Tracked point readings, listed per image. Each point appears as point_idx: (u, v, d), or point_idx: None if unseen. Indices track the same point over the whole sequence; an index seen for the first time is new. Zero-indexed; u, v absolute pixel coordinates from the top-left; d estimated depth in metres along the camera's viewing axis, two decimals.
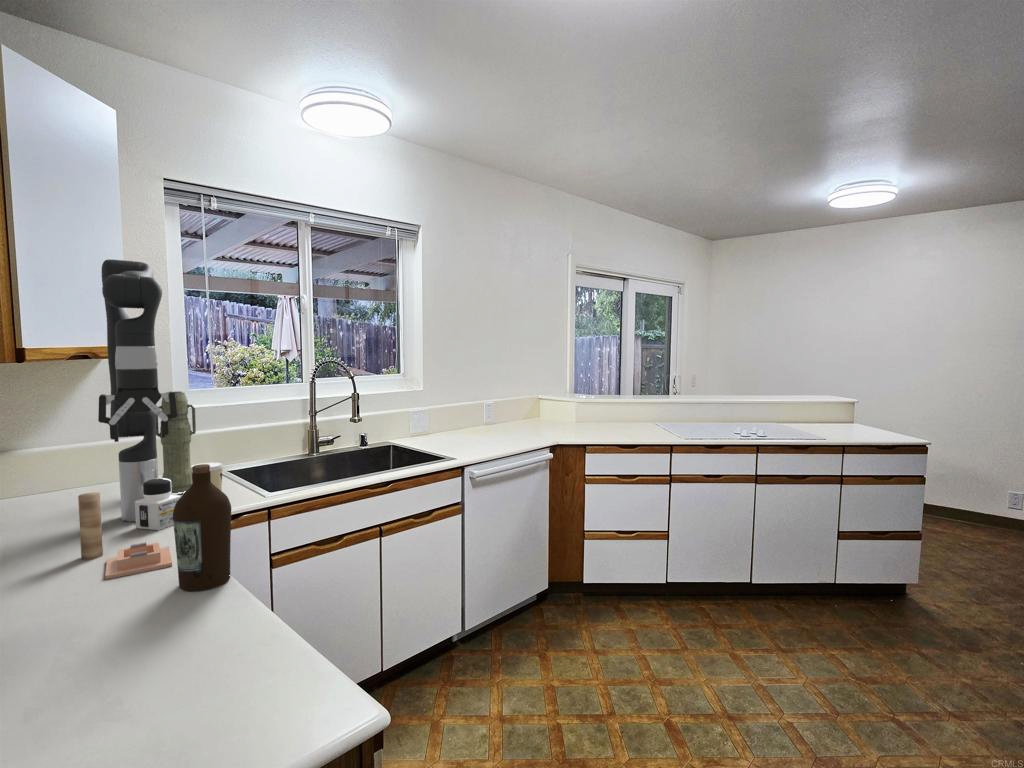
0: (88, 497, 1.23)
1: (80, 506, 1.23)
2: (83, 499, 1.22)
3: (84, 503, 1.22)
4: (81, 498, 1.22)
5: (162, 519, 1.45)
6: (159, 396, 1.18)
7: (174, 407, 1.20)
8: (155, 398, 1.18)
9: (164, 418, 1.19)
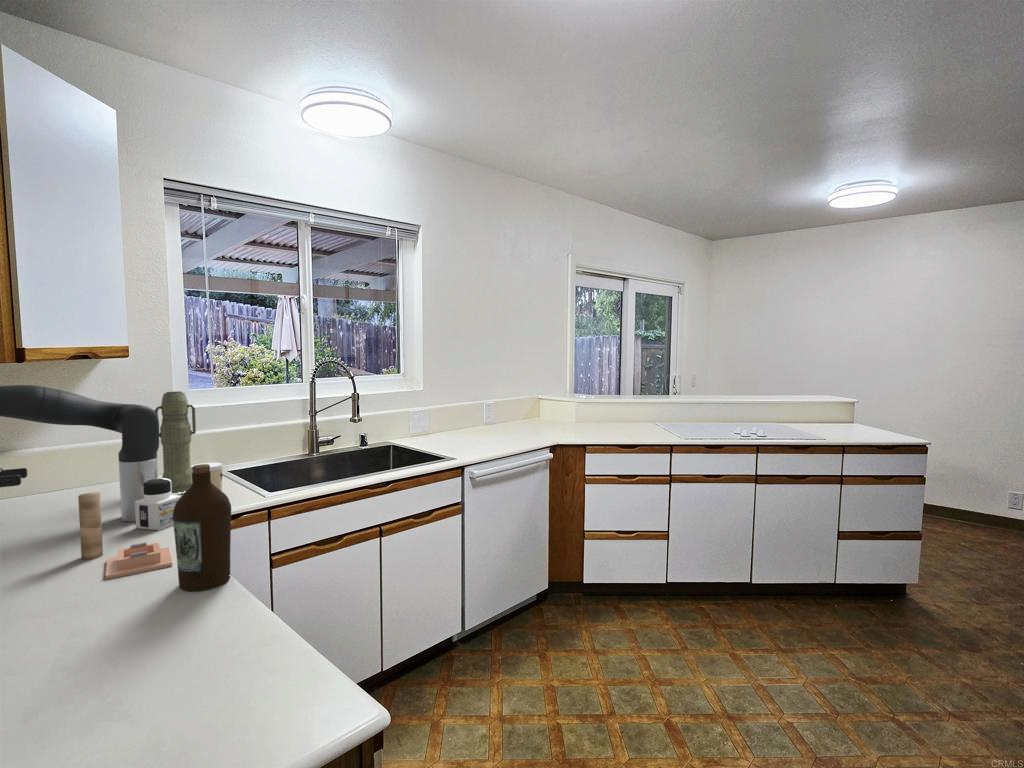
0: (88, 497, 1.23)
1: (80, 506, 1.23)
2: (83, 499, 1.22)
3: (84, 503, 1.22)
4: (81, 498, 1.22)
5: (162, 519, 1.45)
6: None
7: None
8: None
9: None
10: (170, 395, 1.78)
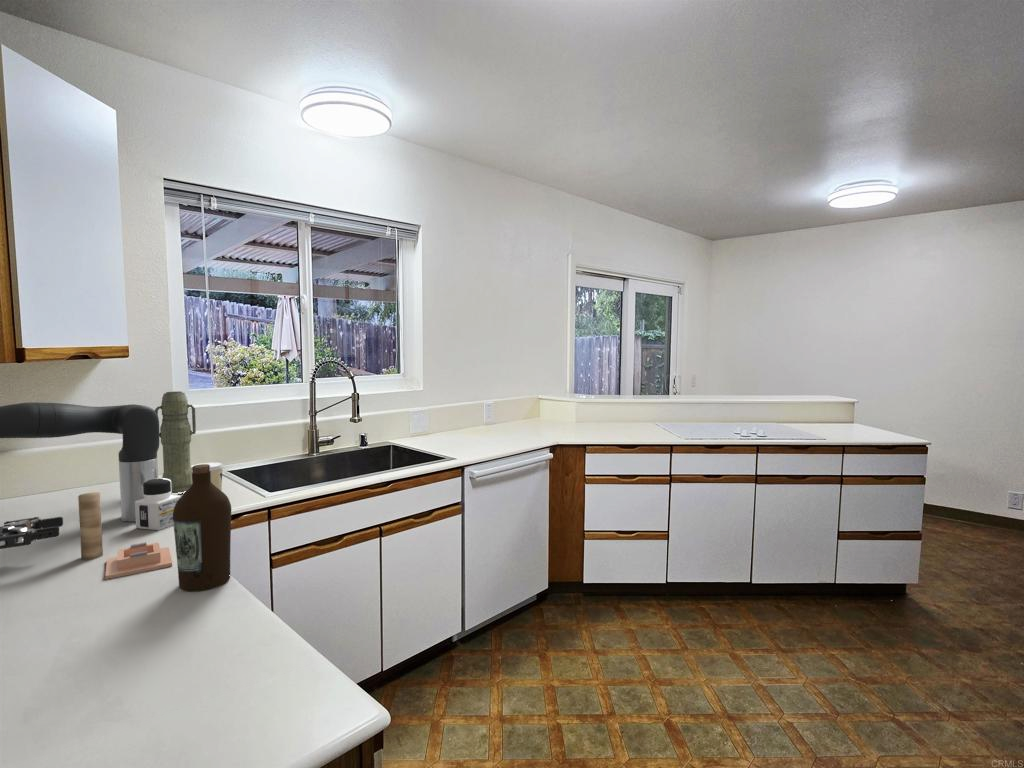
0: (88, 497, 1.23)
1: (80, 506, 1.23)
2: (83, 499, 1.22)
3: (84, 503, 1.22)
4: (81, 498, 1.22)
5: (162, 519, 1.45)
6: None
7: None
8: None
9: None
10: (170, 395, 1.78)
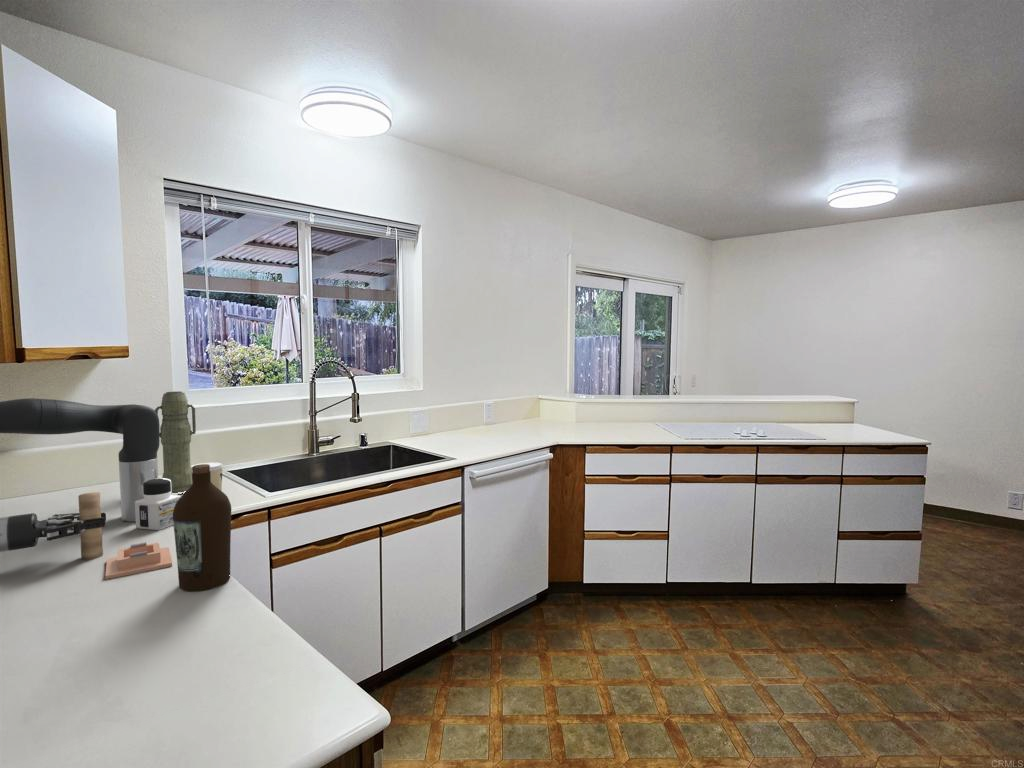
0: (88, 497, 1.23)
1: (80, 506, 1.23)
2: (84, 499, 1.22)
3: (84, 503, 1.23)
4: (81, 498, 1.22)
5: (162, 519, 1.45)
6: None
7: (67, 536, 1.18)
8: None
9: None
10: (170, 395, 1.78)
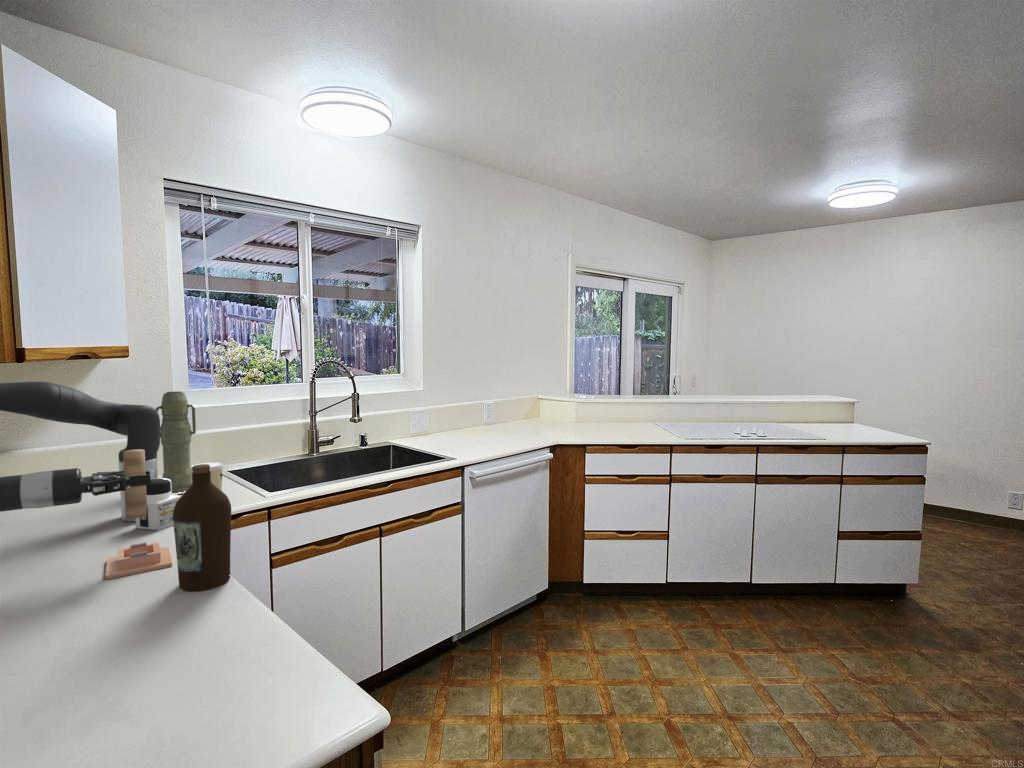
0: (133, 453, 1.18)
1: (125, 462, 1.17)
2: (129, 455, 1.17)
3: (129, 459, 1.17)
4: (126, 454, 1.17)
5: (162, 519, 1.45)
6: (93, 491, 1.12)
7: (113, 491, 1.13)
8: None
9: None
10: (170, 395, 1.78)
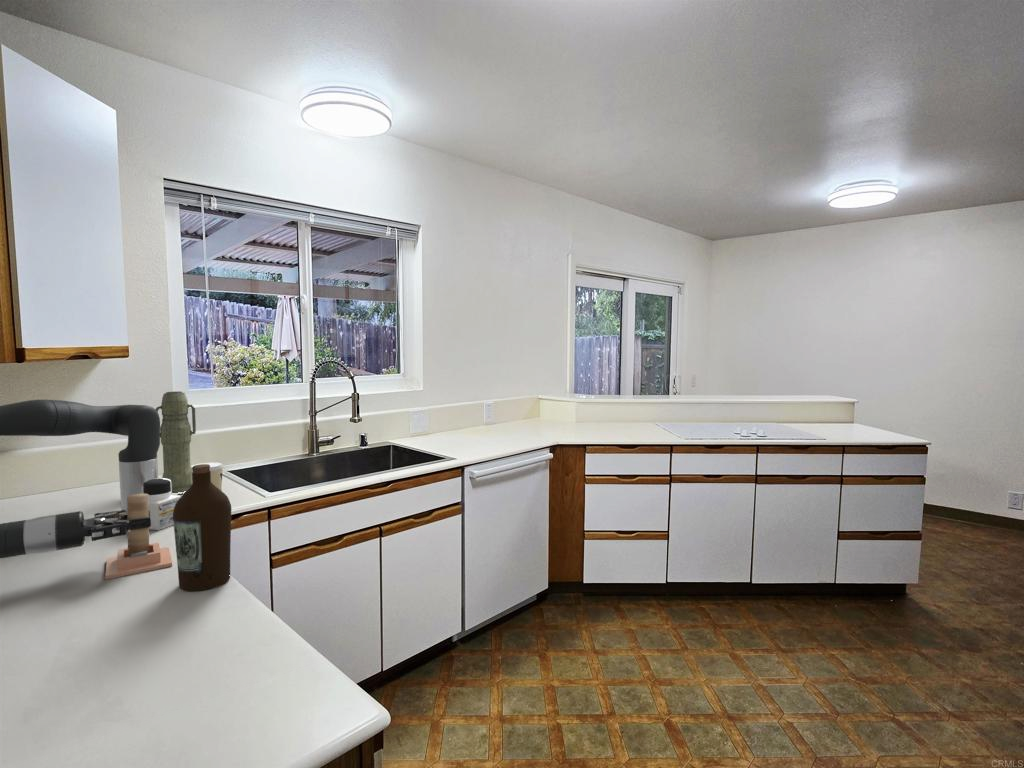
0: (137, 498, 1.19)
1: (129, 507, 1.19)
2: (133, 500, 1.18)
3: (133, 504, 1.18)
4: (130, 499, 1.18)
5: (162, 519, 1.45)
6: None
7: (113, 536, 1.13)
8: None
9: None
10: (170, 395, 1.78)
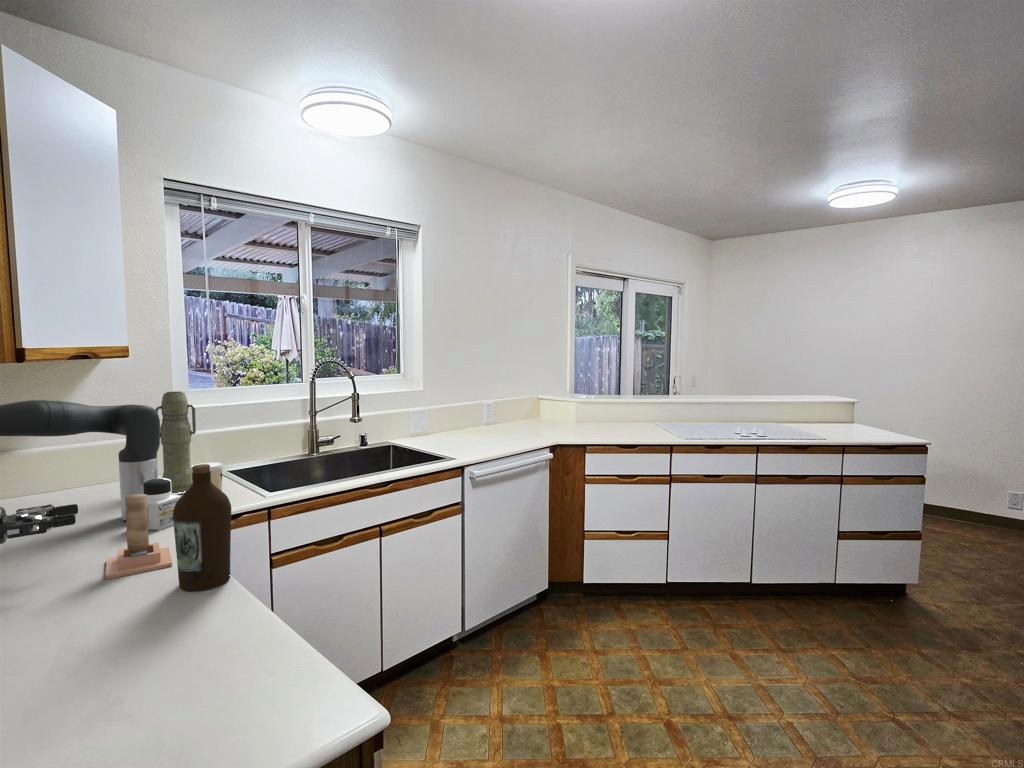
0: (136, 499, 1.18)
1: (127, 508, 1.18)
2: (131, 501, 1.18)
3: (131, 505, 1.18)
4: (128, 500, 1.18)
5: (162, 519, 1.45)
6: None
7: (31, 534, 1.06)
8: None
9: None
10: (170, 395, 1.78)
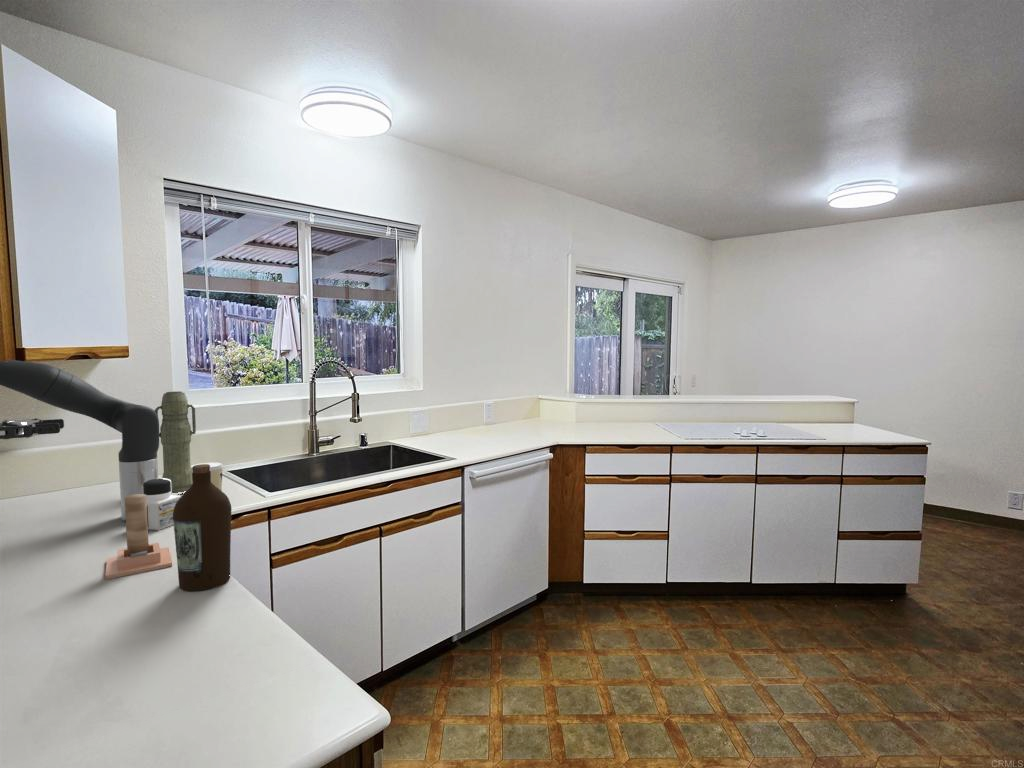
0: (135, 499, 1.18)
1: (127, 508, 1.18)
2: (130, 501, 1.18)
3: (131, 505, 1.18)
4: (128, 500, 1.18)
5: (162, 519, 1.45)
6: None
7: (16, 437, 1.10)
8: None
9: None
10: (170, 395, 1.78)
